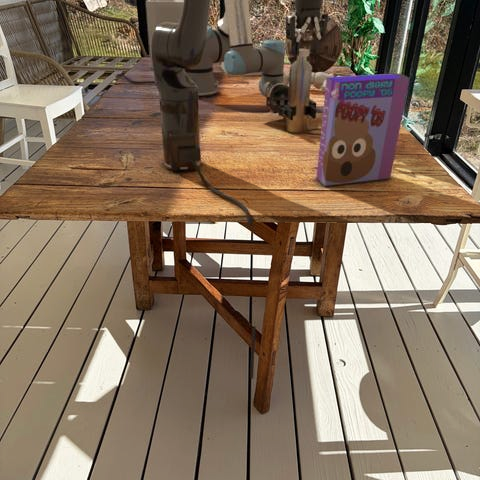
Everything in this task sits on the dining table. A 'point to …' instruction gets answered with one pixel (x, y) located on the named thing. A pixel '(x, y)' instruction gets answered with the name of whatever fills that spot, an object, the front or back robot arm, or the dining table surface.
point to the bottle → (299, 95)
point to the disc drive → (239, 75)
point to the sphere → (320, 48)
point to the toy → (314, 79)
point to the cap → (303, 52)
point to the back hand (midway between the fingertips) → (303, 114)
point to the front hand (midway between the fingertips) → (304, 54)
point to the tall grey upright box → (162, 14)
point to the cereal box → (360, 127)
